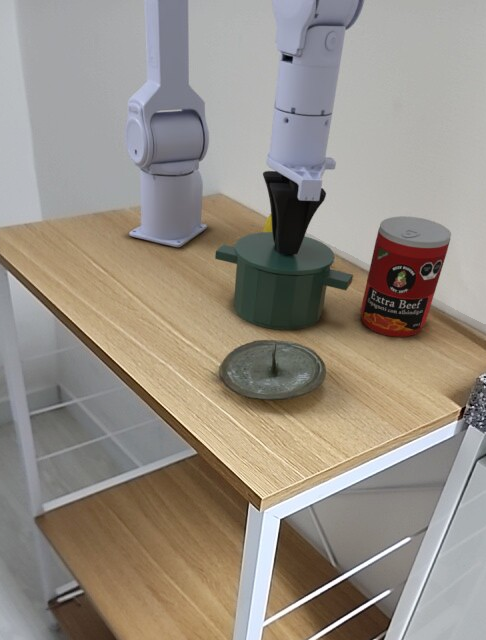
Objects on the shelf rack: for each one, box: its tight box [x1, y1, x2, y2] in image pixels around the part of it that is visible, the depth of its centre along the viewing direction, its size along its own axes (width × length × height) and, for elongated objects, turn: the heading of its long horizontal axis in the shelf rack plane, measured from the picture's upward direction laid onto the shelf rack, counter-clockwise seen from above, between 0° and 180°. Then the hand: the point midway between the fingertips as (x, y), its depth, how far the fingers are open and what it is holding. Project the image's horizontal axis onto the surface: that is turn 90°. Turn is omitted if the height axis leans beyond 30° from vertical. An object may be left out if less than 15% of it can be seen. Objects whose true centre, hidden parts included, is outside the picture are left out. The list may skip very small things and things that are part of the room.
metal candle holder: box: [218, 339, 327, 402], centre depth 62 cm, size 11×10×5 cm
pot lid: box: [234, 228, 335, 275], centre depth 71 cm, size 11×11×5 cm
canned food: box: [360, 215, 452, 338], centre depth 72 cm, size 8×8×11 cm
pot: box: [214, 244, 354, 331], centre depth 74 cm, size 10×16×6 cm, turn 67°
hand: (285, 247), depth 71 cm, fingers closed on pot lid, 2 cm apart
